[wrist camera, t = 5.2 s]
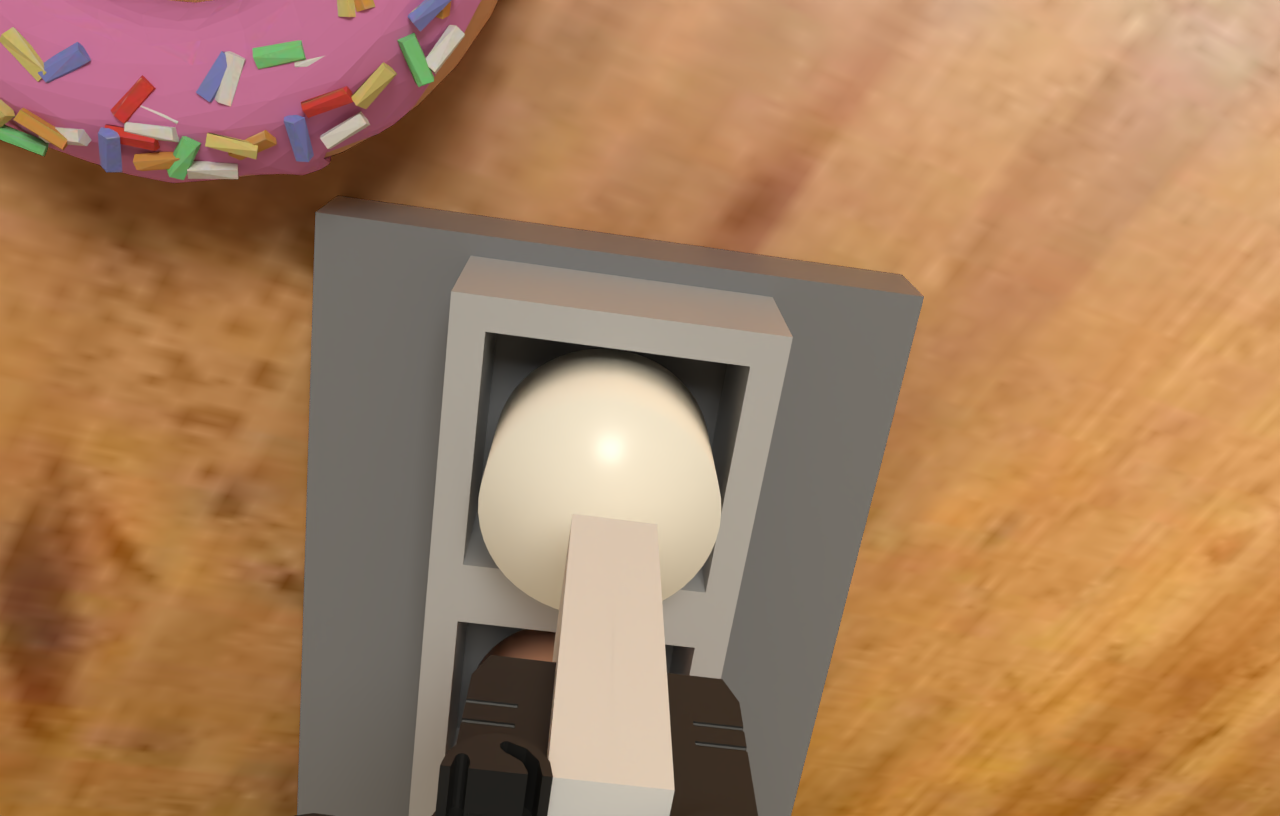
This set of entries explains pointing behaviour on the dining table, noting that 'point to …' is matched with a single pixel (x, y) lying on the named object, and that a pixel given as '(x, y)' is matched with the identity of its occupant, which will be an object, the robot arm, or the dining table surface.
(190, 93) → the donut
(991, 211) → the dining table surface
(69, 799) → the dining table surface
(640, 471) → the button ivory
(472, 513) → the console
